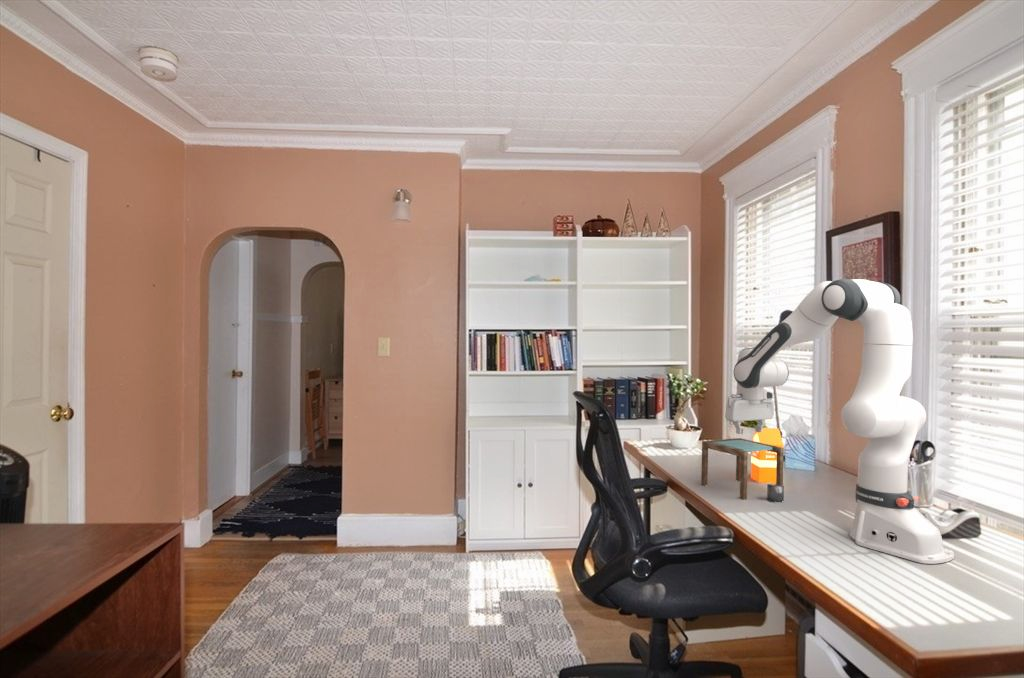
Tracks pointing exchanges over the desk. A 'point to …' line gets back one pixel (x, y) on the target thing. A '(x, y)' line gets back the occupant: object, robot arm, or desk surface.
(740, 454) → the teal-topped side table
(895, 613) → the desk surface
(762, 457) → the orange juice
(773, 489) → the iron weight
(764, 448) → the trapdoor
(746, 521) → the desk surface
